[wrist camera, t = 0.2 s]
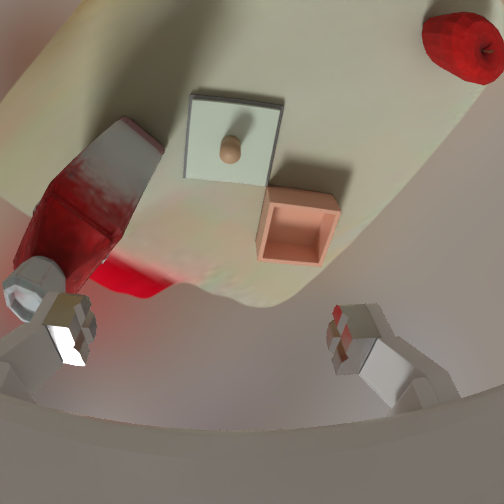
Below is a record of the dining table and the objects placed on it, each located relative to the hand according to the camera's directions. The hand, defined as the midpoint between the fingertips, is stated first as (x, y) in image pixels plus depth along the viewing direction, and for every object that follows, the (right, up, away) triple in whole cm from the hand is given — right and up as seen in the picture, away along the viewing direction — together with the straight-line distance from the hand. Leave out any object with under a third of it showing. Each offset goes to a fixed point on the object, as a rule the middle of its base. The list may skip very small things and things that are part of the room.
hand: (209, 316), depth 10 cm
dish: (+8, +8, +43) cm, 45 cm away
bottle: (-19, +16, +35) cm, 43 cm away
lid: (-2, +18, +34) cm, 38 cm away
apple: (+30, +34, +24) cm, 51 cm away
